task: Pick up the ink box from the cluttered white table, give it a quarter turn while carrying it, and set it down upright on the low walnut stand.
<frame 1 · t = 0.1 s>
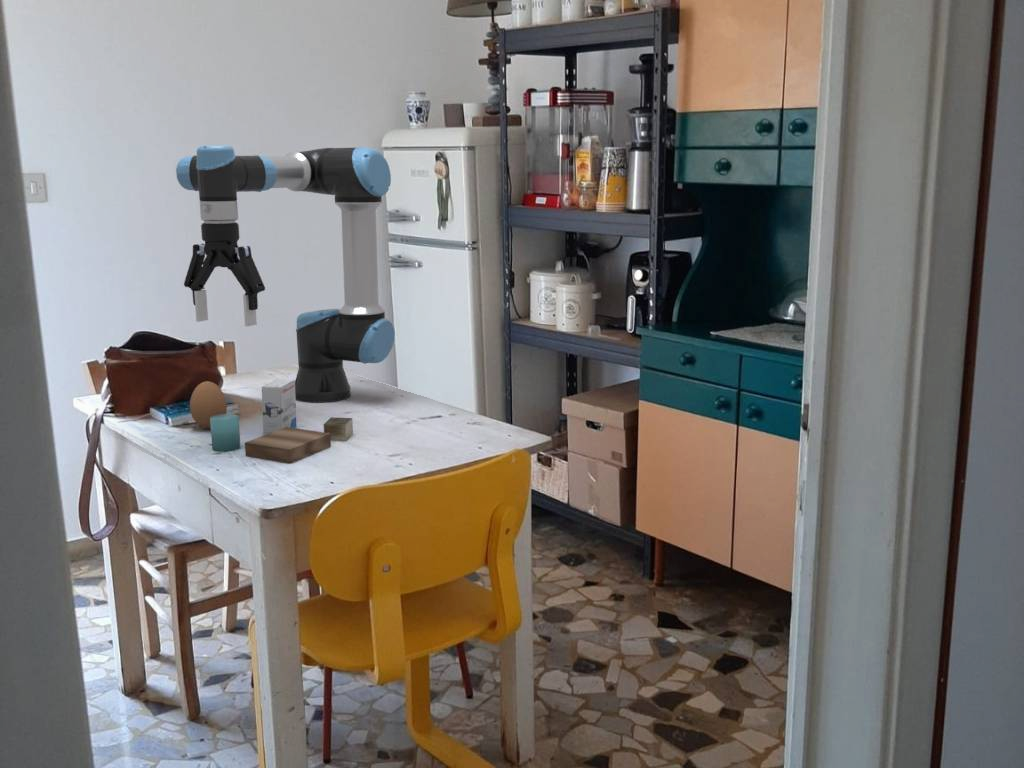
hand: (226, 323, 209), 28 cm above the table, fingers open, 13 cm apart
stand: (289, 451, 213), on the table
teal pillar candle: (226, 448, 216), on the table
ink box: (280, 432, 229), on the table
egg: (209, 428, 232), on the table
brass tin: (338, 438, 224), on the table
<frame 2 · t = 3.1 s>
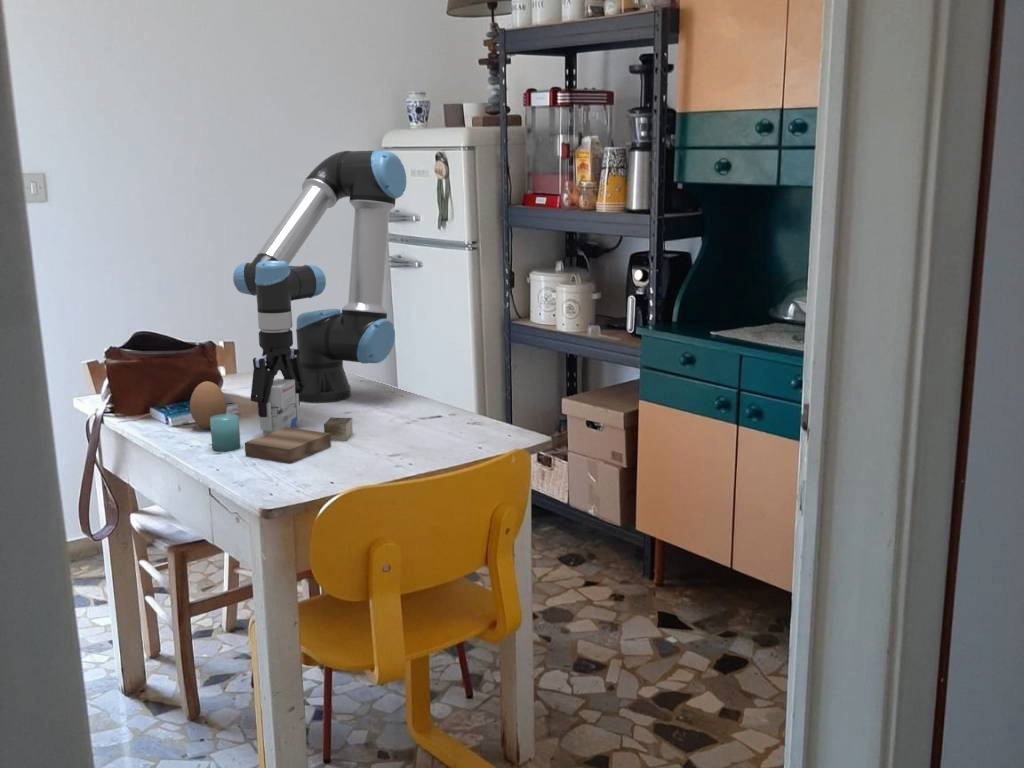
hand: (280, 424, 229), 2 cm above the table, fingers closed on ink box, 9 cm apart
ink box: (280, 432, 229), on the table, touching gripper
everything else where it was.
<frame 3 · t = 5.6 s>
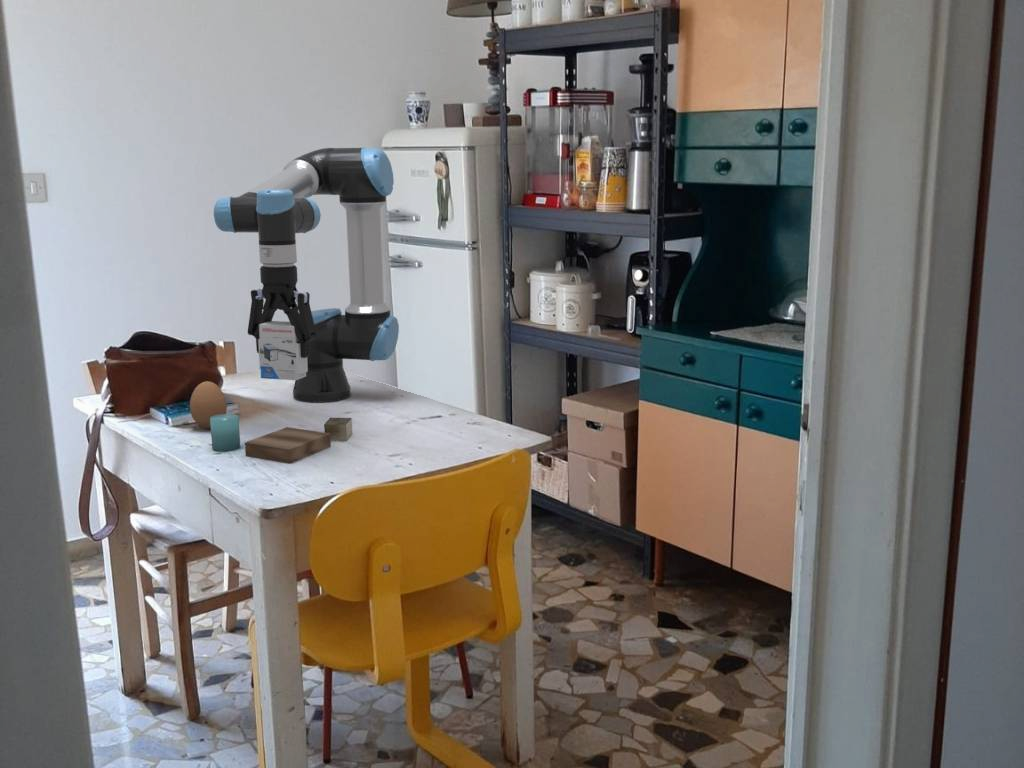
hand: (283, 370, 210), 18 cm above the table, fingers closed on ink box, 9 cm apart
ink box: (283, 378, 210), point 16 cm above the table, touching gripper
everything else where it was.
when the fingers open (6 cm above the table, at t = 8.3 s): ink box drops 1 cm, resting on stand.
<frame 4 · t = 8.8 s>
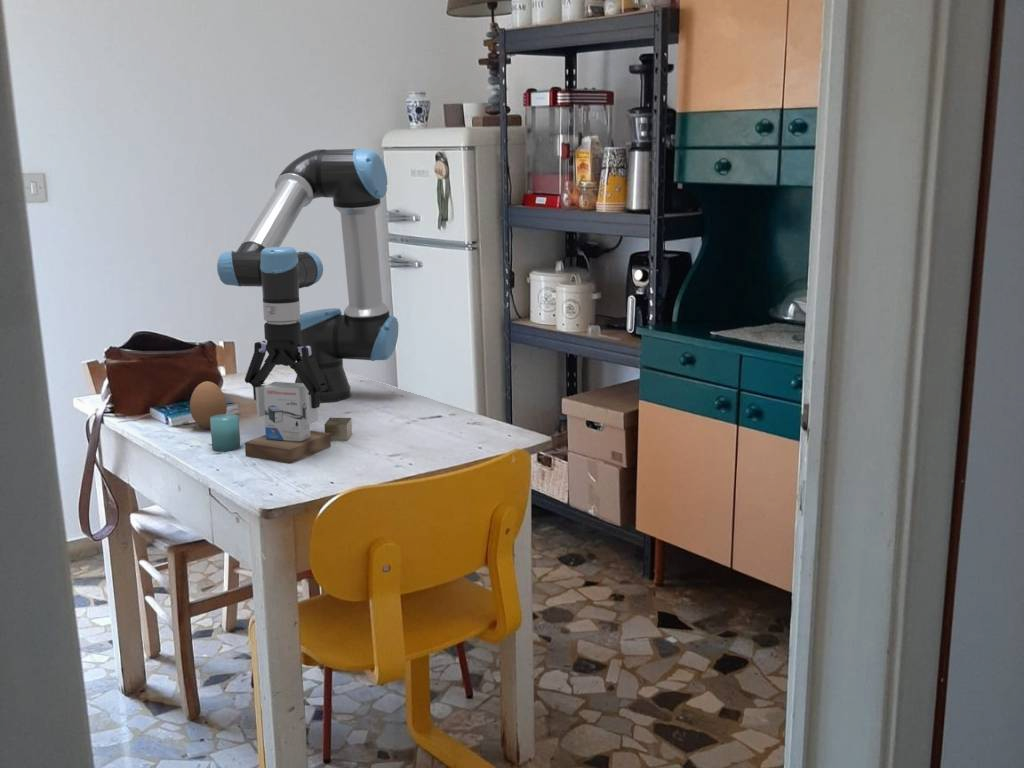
hand: (287, 419, 212), 7 cm above the table, fingers open, 13 cm apart
ink box: (288, 438, 213), point 3 cm above the table, touching stand
everything else where it was.
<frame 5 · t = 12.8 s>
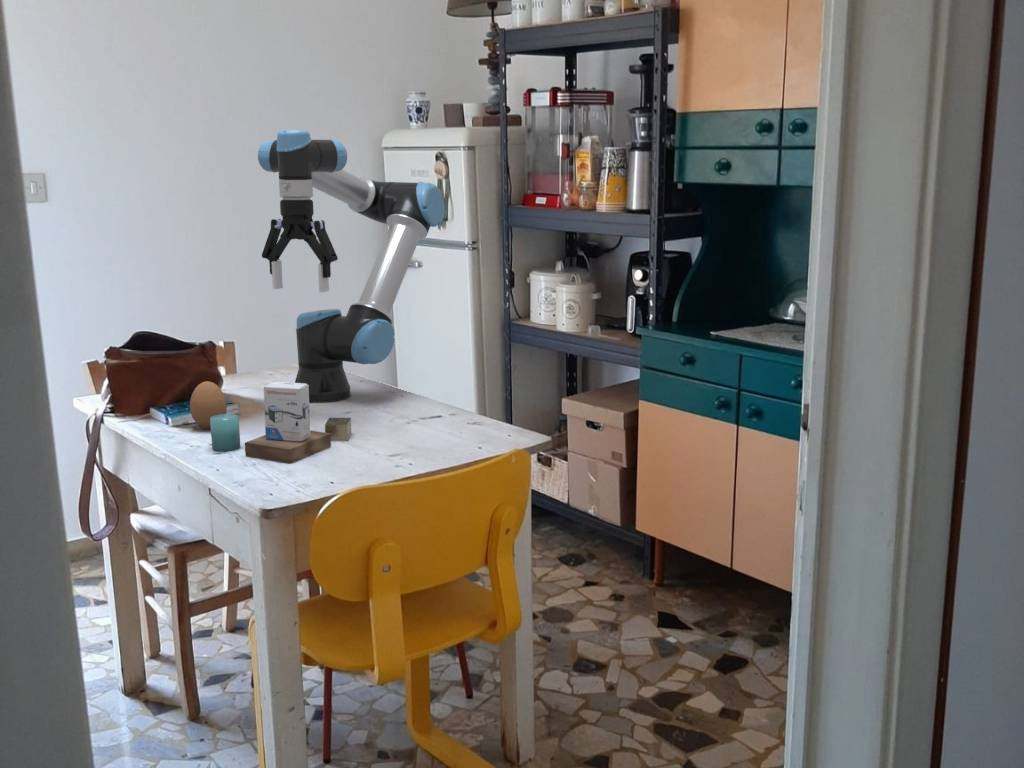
hand: (300, 290, 232), 32 cm above the table, fingers open, 13 cm apart
nothing on the table moved.
at the end: ink box inside the target area on the stand (0.0 cm from its centre), point 2.8 cm above the stand's base; ink box tilted 0°; the gripper is holding nothing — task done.
